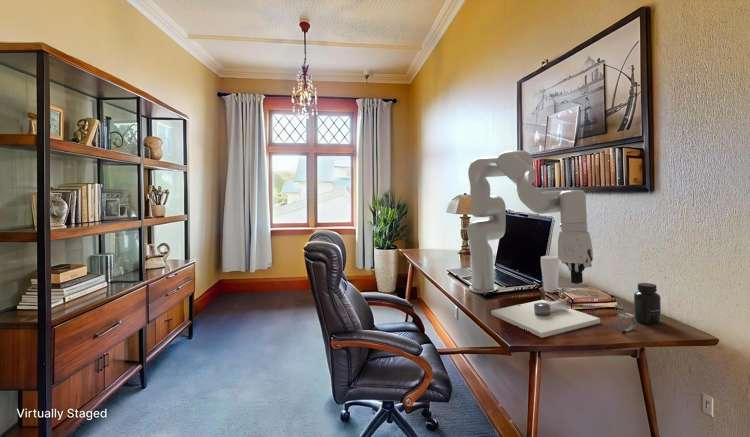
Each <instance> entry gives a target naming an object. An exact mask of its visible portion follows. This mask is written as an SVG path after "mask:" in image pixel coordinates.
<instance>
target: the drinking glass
mask: <svg viewBox="0 0 750 437" xmlns="http://www.w3.org/2000/svg"><path fill="white" fill-rule="evenodd" d="M559 261H560V260H559V259H558V255H557V256H556V255H543V256H540V268H541V276H542V283H543V291H544V292H545V291H553V290H557V289H558V290H559V268H560V265H559V263H560V262H559Z"/></svg>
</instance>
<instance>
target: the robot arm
mask: <svg viewBox="0 0 750 437" xmlns="http://www.w3.org/2000/svg"><path fill="white" fill-rule="evenodd" d="M533 159H534V158H533V156H532V154H531V153H530V152H528V151H527V150H506V151H503V152H501V153H499V155H497V156H483V157H477V158H475V159H473V161H471V162H470V164H469V167H468V172H467V175H468V180H469V187H470V190H469V195H470V197H469V199H470V202H469V203H470V205H469V206H470V208H469V209H470V214H471V215H472V217H474V218H477V219H478V218H488V219H482V220H476V221H472V222H470V223H469V224H468V226H467V227H466V233H467V238H468V243H469V248H470V250H469V251H470V263H471V264H470V265H471V278H470V279H469V280H468V281H469V283H471V285H469V287H468V290H469V291H470V292H472V293H475V294H484V293H483V292H489V291H494V290H497V289H498V290H499V287H498V285H495V274H494V257H493V254H494V253H493V249H492V247H491V245H490V243H489V241H495V240H500V239H501V238H503V237H504V235H505V233H506V225H507V224H506V223H507V222H506V217H507V216H506V212H507V210H506V203H505V201H504V199H503V198H502V197H501V196H500V195H495V194H494V195H493V194H492V195H491V184H490V183H489V180H488V179H487V178H492V177H493V178H494V177H497V178H498V177H507V178H508V179H509V180H511V182H512V183H513V184H514V185H515V186H516V192H517V196H518V200H520V201H521V203H522V204H523V205H525V207H526V208H528V209H529V210H530V211H531V212H533V213H534V214H539V215H542V214H549V213H550V214H551V213H559V214H560V224H559V227H560V229H561V230H560V231H559V232H558V239H557V257H558V260H559V261H560V262H561V264H564V265H566V266H567V267H568V270H569V272H570V280H571V283H572V284H574V285H578V284H582V283H583V281H584V279H583V272H584V271H585V269H586V268H591V267H593V264H592V262H593V259H594V254H593V253H594V251H593V244H592V243H593V242H592V239H591V234H590V232H589V231H588V217H587V216H588V215H587V214H588V213H587V195H586V192H585V191H584V190H582V189H570V190H547V191H541V190H538V188H536V187H535V186H534V185H533V183H534V182H535V181H536V178H537V176H538V172H537V170H536V169H535V168H534V167H532V166H533V163H534V160H533Z"/></svg>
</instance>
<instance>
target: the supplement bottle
mask: <svg viewBox="0 0 750 437" xmlns="http://www.w3.org/2000/svg"><path fill="white" fill-rule="evenodd" d="M657 292H658V290H657V284H655V283H649V282H639V283H637V291H635V292H634V294H633V315H635V318H636V323H640V324H643V325H644V324H646V325H650V326H651V325H652V326H653V325H660V323H661V321H662V320H661V318H662V314H661V311H662V310H661V308H662V306H661V305H662V301H661V300H662V299H661V295H660V294H659V293H657Z"/></svg>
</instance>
